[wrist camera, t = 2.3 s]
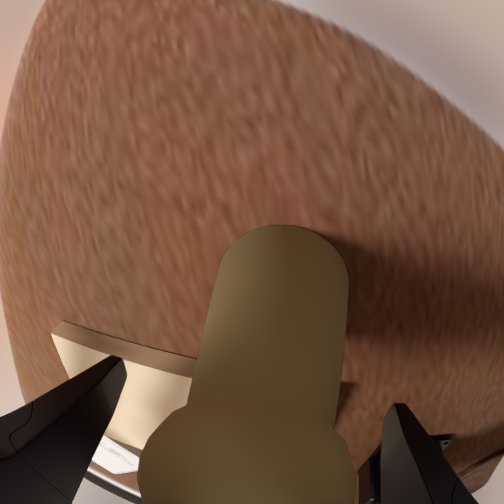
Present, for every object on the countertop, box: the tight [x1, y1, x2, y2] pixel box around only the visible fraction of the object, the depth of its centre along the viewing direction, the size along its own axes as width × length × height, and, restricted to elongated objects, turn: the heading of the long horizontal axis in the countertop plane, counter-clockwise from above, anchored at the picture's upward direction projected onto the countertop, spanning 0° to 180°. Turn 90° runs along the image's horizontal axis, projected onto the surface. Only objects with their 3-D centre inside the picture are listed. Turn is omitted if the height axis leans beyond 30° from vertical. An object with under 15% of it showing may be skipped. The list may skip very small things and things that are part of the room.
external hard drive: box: [92, 435, 142, 474], centre depth 28 cm, size 2×8×12 cm
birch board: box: [51, 321, 197, 450], centre depth 20 cm, size 18×13×2 cm
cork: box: [137, 225, 356, 504], centre depth 9 cm, size 6×6×11 cm
